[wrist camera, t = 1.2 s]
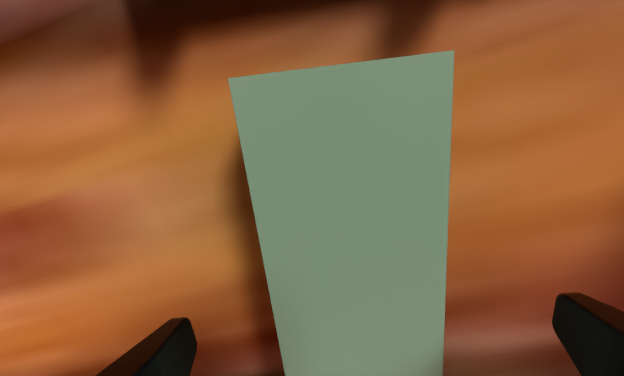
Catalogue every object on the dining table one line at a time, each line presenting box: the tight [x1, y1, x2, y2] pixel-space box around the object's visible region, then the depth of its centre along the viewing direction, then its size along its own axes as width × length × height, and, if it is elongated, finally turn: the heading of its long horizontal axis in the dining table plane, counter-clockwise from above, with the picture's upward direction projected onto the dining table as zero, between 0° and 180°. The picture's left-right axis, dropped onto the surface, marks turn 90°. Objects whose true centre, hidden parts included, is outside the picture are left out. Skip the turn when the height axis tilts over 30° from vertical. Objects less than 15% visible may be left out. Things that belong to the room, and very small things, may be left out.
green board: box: [228, 50, 454, 376], centre depth 11 cm, size 5×12×4 cm, turn 6°
